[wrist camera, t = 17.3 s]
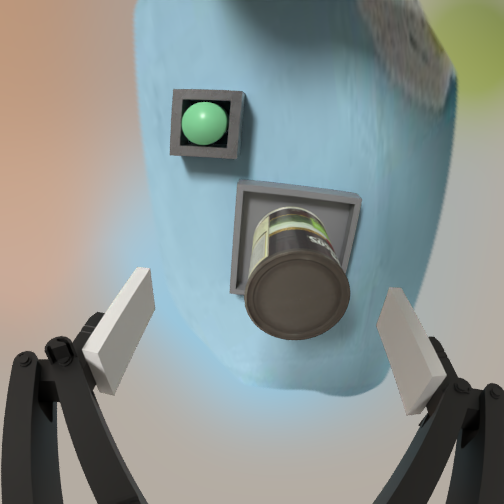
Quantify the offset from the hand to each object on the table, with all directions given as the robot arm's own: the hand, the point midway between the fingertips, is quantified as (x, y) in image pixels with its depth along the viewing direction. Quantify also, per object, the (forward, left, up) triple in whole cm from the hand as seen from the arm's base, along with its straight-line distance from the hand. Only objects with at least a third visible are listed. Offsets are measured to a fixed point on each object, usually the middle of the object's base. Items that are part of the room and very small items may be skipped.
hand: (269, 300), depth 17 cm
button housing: (-8, -8, -26) cm, 28 cm away
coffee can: (+7, +3, -25) cm, 27 cm away
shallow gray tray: (+7, +4, -26) cm, 27 cm away
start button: (-8, -8, -25) cm, 28 cm away
